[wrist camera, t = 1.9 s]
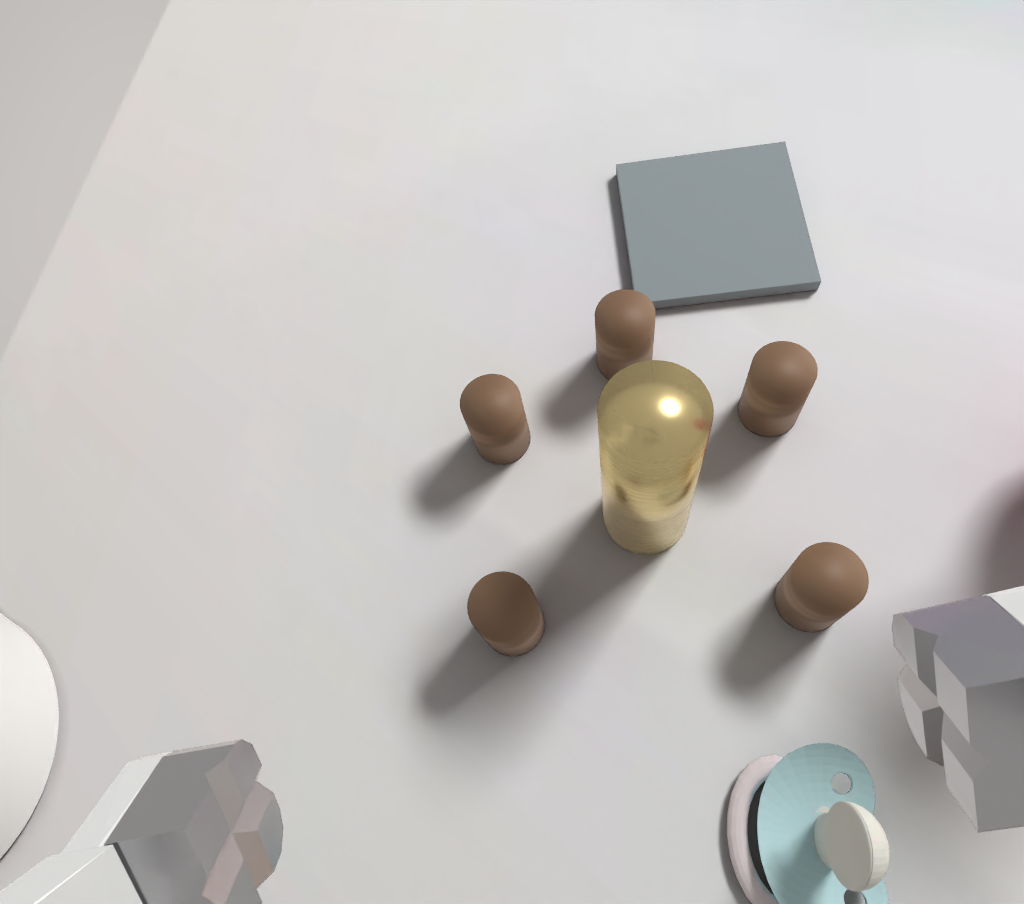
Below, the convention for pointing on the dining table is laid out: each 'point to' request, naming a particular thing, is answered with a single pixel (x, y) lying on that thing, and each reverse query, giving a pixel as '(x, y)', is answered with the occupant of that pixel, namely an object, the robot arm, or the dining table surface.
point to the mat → (715, 226)
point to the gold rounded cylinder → (651, 452)
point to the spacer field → (762, 409)
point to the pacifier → (809, 829)
